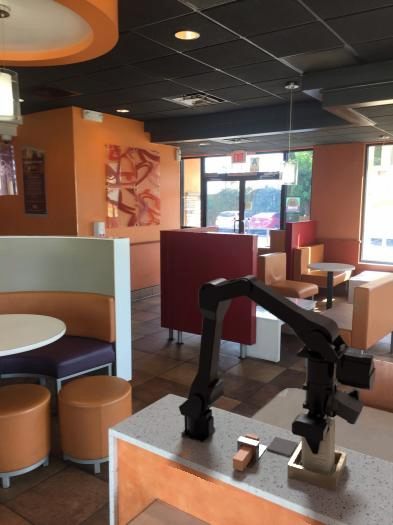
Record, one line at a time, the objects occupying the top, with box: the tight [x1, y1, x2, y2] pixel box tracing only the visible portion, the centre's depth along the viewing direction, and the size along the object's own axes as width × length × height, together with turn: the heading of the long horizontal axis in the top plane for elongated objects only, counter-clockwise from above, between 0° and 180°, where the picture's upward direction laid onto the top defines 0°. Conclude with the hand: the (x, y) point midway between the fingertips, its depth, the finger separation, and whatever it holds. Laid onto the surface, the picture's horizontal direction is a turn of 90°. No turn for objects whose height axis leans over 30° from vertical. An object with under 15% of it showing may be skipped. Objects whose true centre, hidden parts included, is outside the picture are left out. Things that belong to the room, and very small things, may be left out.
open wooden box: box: [286, 442, 348, 493], centre depth 95 cm, size 10×10×3 cm
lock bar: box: [232, 432, 260, 472], centre depth 99 cm, size 3×9×4 cm, turn 150°
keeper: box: [236, 436, 268, 469], centre depth 102 cm, size 5×9×4 cm, turn 150°
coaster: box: [266, 436, 299, 458], centre depth 105 cm, size 6×6×1 cm
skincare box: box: [300, 411, 336, 476], centre depth 95 cm, size 6×4×12 cm
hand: (318, 447), depth 95 cm, fingers closed on skincare box, 4 cm apart
